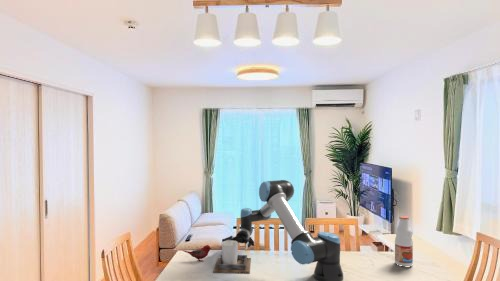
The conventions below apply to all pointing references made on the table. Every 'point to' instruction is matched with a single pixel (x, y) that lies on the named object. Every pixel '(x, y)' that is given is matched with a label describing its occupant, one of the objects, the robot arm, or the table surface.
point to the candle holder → (229, 252)
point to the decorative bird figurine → (200, 252)
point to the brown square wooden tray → (233, 265)
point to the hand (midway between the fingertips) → (234, 246)
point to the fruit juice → (403, 243)
